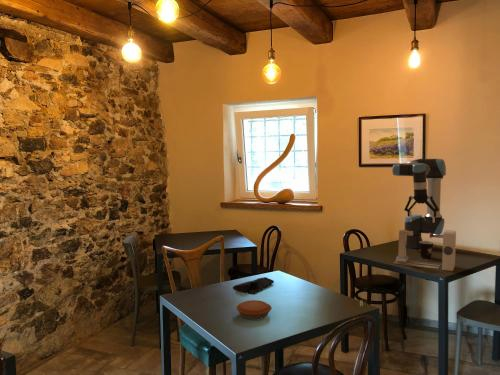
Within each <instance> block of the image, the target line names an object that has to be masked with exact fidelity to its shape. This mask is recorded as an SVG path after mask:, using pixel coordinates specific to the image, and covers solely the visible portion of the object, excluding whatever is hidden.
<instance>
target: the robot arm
mask: <svg viewBox="0 0 500 375" xmlns="http://www.w3.org/2000/svg"><path fill="white" fill-rule="evenodd" d="M391 170H392V171H391V172H392V175H393V176H395V177H396V176H397V177H412V178H413V179H412V180H413V195H409V196H408V201H407V202H406V205H405V207H404V209H403V210H404V211H405V212H407V215H406V216H405V218H404V230H407V231H413V236H410V235H407V241H406V249H407V248H408V249H416V247H417V246H418V245H420V244H419V242H420V241H423V237H422V234H429V235H430V233H432V234H440V235H442V233H443V231H444V227H445V218H443V215H442V214H441V187H442V186H441V183H442V179H444V176H446V175H447V168H446V163H445V160H444V159H442V158H418V159H417V158H416V159H413V160H410V161H408V162H405V163H402V164H401V163H400V164H399V163H396V164H395V163H394V164H393V165H392V169H391ZM412 200H414V202H413V203H412V204H411V202H412ZM416 204H425V205H426V213H425V214H424V216H423V215H422V214H412V211H411V210H412V209H413V208H414V206H416ZM410 205H411V206H410ZM417 249H420V246H418V247H417Z"/></svg>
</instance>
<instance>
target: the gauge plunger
mask: <svg viewBox="0 0 500 375" xmlns="http://www.w3.org/2000/svg"><path fill="white" fill-rule="evenodd" d="M432 238H436V239H437V238H438V239H443V234H432V233H430V234H429V239H432Z"/></svg>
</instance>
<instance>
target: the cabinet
mask: <svg viewBox="0 0 500 375" xmlns="http://www.w3.org/2000/svg"><path fill="white" fill-rule="evenodd" d="M443 231H444V232H442V233H443V234H442V235H443V238H442V256H441V257H442V259H441V270H442V271H451V272H453V271H454V269H455V266H456V244H457V243H456V242H457V231H456V230H451V229H450V230H448V229H445V230H443Z"/></svg>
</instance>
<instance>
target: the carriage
mask: <svg viewBox="0 0 500 375" xmlns="http://www.w3.org/2000/svg"><path fill="white" fill-rule="evenodd" d="M407 235H410V236H413V231H407V230H405V229H399V231H398V251H397V252H398V255H397V256H396V258H395V261H403V262H406V261H407V260H409V256H408V255H407V247H406V241H407Z"/></svg>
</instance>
